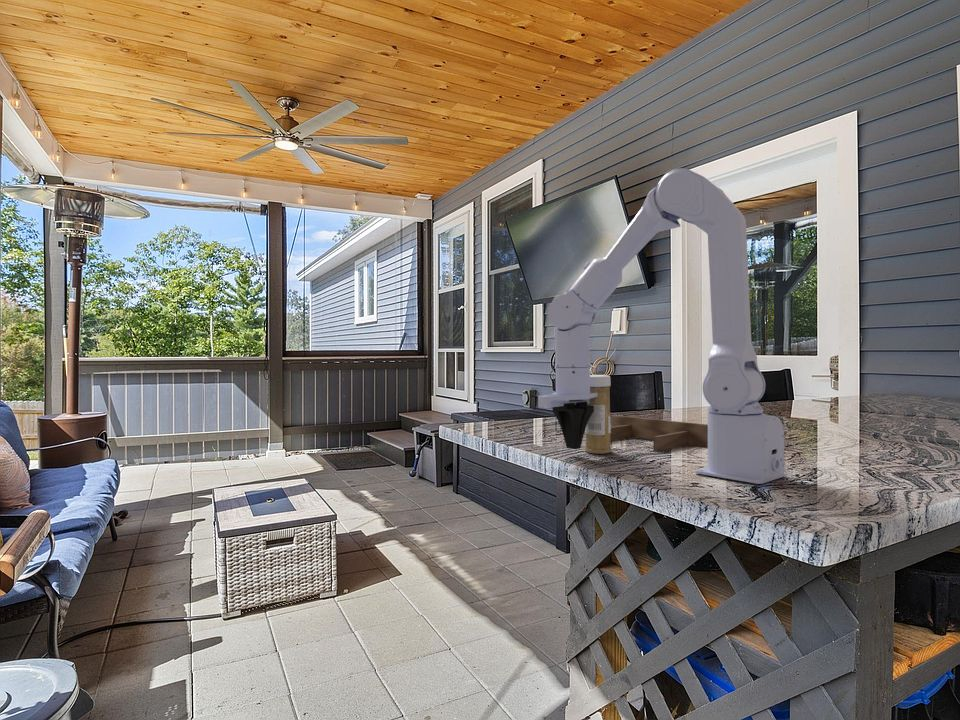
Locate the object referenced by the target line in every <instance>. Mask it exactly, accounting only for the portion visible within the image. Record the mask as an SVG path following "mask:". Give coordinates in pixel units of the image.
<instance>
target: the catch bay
mask: <svg viewBox="0 0 960 720" xmlns="http://www.w3.org/2000/svg"><path fill="white" fill-rule="evenodd" d="M628 438H634V439H635V438H636V439H643V440H650V441H653V442H652V443H653V445H652V447H653V452H661V451H665V450H670V449H671V450H672V449H675V448H680V447H685V446H695V447H704V448H708V423H707V424H705V423H696V422H687V421H678V420H677V421H675V420H667V419H666V420H665V419H655V418H648V417H647V418H646V417H638V416H637V417H636V416H627V415H617V414H615V415H614V414H612V415H611V433H610V442H611V441H617V440H623V439H624V440H625V439H628Z"/></svg>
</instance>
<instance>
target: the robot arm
mask: <svg viewBox="0 0 960 720" xmlns="http://www.w3.org/2000/svg"><path fill="white" fill-rule="evenodd" d="M680 219H681V220H682V221H684V222H685V223H689V224H692V225H695V226H696V227H697V228H699V229H700V230H702V231H703V232H705V234H707V246H708V247H707V249H708V268H709V290H710V293H709V295H710V309H711V310H710V313H711V316H710V317H711V331H712V332H711V333H712V346H711V350H710V352H709V356H708V369H707V373H706V375H705V377H704V379H703V383H702V393H703V394H702V395H703V397H704V399H705V400H706V402H707V403H708V405H710V406H708V407H707V424H708V447H707V466H705V467H701V468H697V469H695V470H694V471H695V474H699V475H704V476H711V477H716V478H721V479H725V480H727V479H728V480H732V481H738V482H744V483H751V484H754V485H755V484H757V485H762V484H766V483H768V482H772V481H775V480H778V479H780V478H783V477H787V475H788V473H787V472H785V429H784V425H783V422H782V420H781V419H780V418H779V417H778V416H776V415H770V414H769V415H768V414H765V413H764V408H763V407H762V406H761V404H760V403H759V401H760V400H761V399H762V398H763V396H764V394H765V392H766V380H765V378H764V375H763V373H762V372H761V371H760V369H759V366H758V357H757V356H758V355H757V353H756V350H755V349H754V345H753V343H752V328H751V327H752V326H751V303H750V301H751V300H750V284H749V283H750V282H749V280H750V279H749V263H748V260H749V259H748V243H747V238H748V237H747V221H746V217H745V216H744V214H743V213H742V211H741V210H739V208H738V207H737V206H736V205H735V204H734V203H733V201H732V200H731V199H730V198H729V197H728V196H727V194H726V193H725V192H724V190H722V189H721V188H719V187H718V186H717V185H716V184H714V183H712V182H711V181H710V180H709V179H707V177H706V176H703V175H701V174H699V173H697V172H694V171H693V170H691V169H688V168H682V167H681V168H680V167H679V168H676V169H675V168H674V169H672V170H670V171H668V172H667V173H665V174H664V175H663V176H662V177H661V179H660V180H659V182H658V183H657V185H656V186H655V187H653V188H652V189H651V190H650V191H649V192H648V194H647V196H646V198H645V200H644V201H643V204H642V206H641V208H640V209H639V211H637V214H636V215H635V216H634V218H633V219H632V220H631V221H630V223H629V224H628V226H627V227H626V228H625V230H624V231H623V232H622V234H621V235H620V236H619V238H618V239H617V241H616V242H615V243H614V244H613V246H612V247H611V249H610V250H609V251H608V253H607V254H606V255H605V256H604V257H600V258H599V257H598V258H594V259H592V261H591V262H590V261H587V262H586V263H585V265H584V266H583V269H584V271H583V272H582V273H581V275H580V276H579V277H578V278H577V280H576V281H574V283H573V285H571V286H568V287H567V289H565V290H566V292H565V293H561V294H558V295H556V296H554V297H553V299H552V301H551V303H550V304H549V307H548V319H549V322H550V323H551V325H552V326H553V327H554V347H555V348H554V349H555V350H554V351H555V352H554V354H555V357H554V359H555V360H554V361H555V367H554V368H555V392H552V393H550V394H544V395H542V394H541V395H538V396H537V398H538V400H537V402H538V403H537V406H538V407H537V408H539V409H540V408H541V409H551V408H552V409H551V410H552V412H553V414H554V416H555V418H556V420H557V422H558V424H559V426H560V428H561V431H562V435H563V439H564V442H565V447H566V448H567V449H572V450H578V449H579V450H580V449H581V447H582V443H583V438H584V435H585V428H586V425H587V423H588V421H589V419H590V417H591V415H592V413H593V412H594V406H592V405H587V403H590V399H591V398H595V397H598V393H597V392H596V393H590V375H591V364H590V363H591V362H590V360H591V359H590V352H591V351H590V344H591V343H590V332H591V331H590V330H591V327H592V326H593V324H594V323H595V320H596V318H597V317H596V316H597V312H596V311H598V310H599V309H600V308H601V306H602V305H604V303H605V302H606V301H607V300H608V299H609V297H610V296H611V295H612V294H613V292H614V291H615V290H616V289H617V288H618V287H619V285H620V284H621V283H622V281H623V270H624V268H625V267H626V266H628V264H629V263H630V262H632V261H633V260H634V258H635V257H636V256H637V255H638V254H639V252H640V251H641V250H643V248H644V247H645V246H646V245H647V244H648V243H649V242H650V241H651V240H652V239H653V238H654V236H656V235H657V234H658V233H661V232H663V231H667V230H672V229H678V228H680V227H681V224H680V222H679V220H680Z"/></svg>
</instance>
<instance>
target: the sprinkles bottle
mask: <svg viewBox="0 0 960 720" xmlns="http://www.w3.org/2000/svg"><path fill="white" fill-rule="evenodd" d="M611 383H612V382H611V376H610V375H607V374H590V393H596V392H597V393H598V397H595V398H591V399H590V403H587V405H592V406H594V412H593V413H592V415H591V417H590V419H589V421H588V423H587V425H586V428H585V432H584V434H585V450H584V451H585V452H586V453H589V454H595V455H597V454H598V455H599V454H600V455H604V454H609V453H611V452H612V447H611V446H612V445H611V441H610V433H611V427H612V418H611V403H610V402H611V397H610V395H611V393H610V391H611V390H610V389H611Z"/></svg>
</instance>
